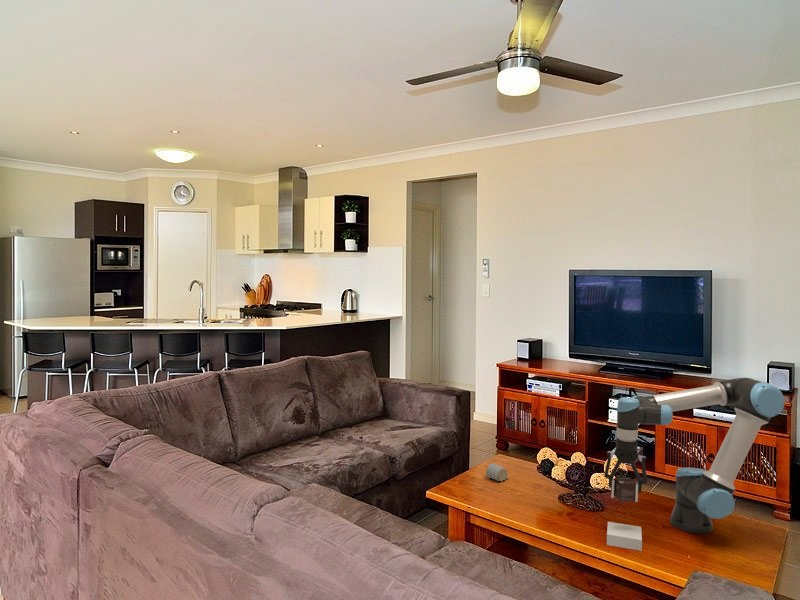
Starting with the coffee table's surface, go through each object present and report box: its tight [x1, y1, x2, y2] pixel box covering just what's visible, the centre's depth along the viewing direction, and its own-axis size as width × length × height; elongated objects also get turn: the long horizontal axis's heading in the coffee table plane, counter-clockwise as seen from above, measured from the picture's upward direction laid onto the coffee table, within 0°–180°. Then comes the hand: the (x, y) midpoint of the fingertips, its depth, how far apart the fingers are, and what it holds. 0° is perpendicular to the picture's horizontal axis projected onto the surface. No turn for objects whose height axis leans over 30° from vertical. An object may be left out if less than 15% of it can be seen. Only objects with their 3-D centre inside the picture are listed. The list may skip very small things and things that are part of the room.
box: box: [614, 476, 636, 503], centre depth 212 cm, size 6×6×7 cm
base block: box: [606, 521, 643, 552], centre depth 211 cm, size 12×12×4 cm
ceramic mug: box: [485, 462, 509, 482], centre depth 276 cm, size 11×8×8 cm
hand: (624, 498), depth 212 cm, fingers closed on box, 8 cm apart
